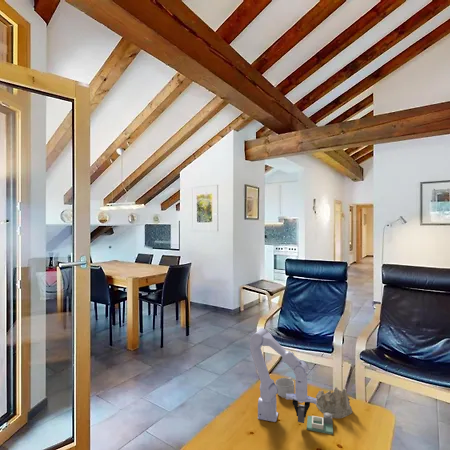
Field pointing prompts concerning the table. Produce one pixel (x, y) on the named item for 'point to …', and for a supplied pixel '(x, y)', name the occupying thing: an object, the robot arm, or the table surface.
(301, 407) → the plug
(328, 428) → the board
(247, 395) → the table surface
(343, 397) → the grey jagged lump
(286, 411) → the table surface
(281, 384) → the teacup
